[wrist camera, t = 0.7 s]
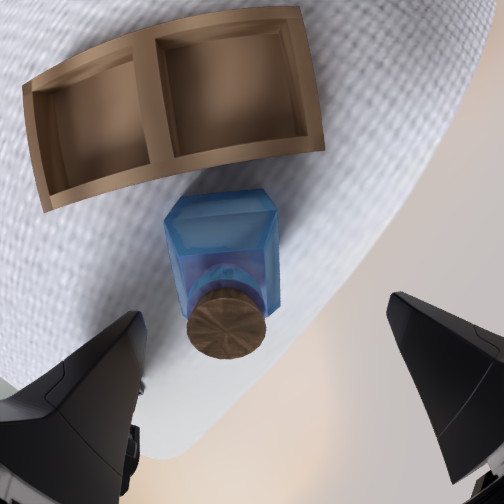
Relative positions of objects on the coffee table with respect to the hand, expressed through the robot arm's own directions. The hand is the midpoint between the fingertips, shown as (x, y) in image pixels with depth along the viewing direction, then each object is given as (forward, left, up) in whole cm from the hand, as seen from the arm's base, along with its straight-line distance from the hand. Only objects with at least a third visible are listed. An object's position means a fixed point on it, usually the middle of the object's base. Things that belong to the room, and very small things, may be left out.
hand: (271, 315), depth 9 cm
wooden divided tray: (-4, +9, -13) cm, 17 cm away
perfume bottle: (-2, -1, -13) cm, 14 cm away
